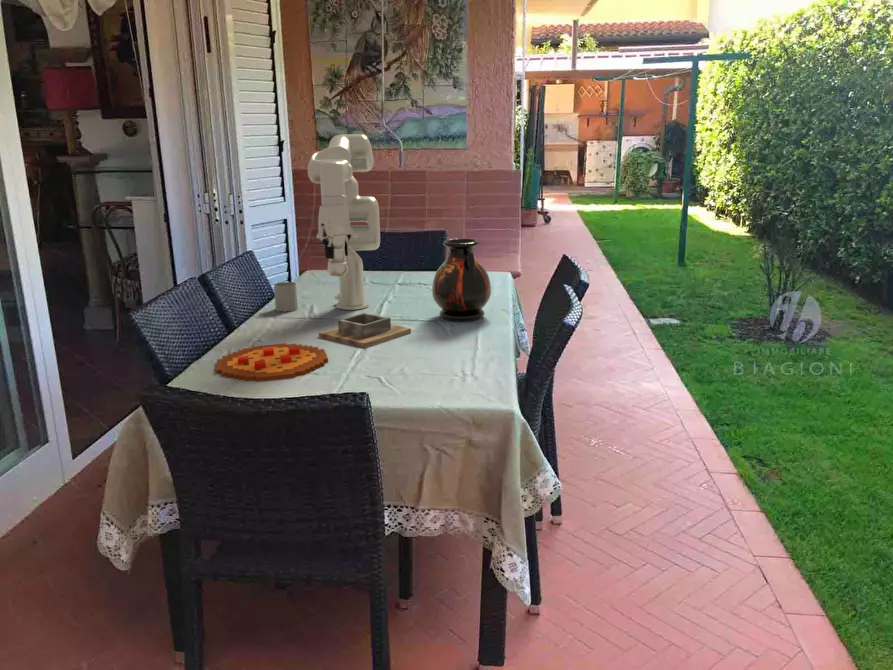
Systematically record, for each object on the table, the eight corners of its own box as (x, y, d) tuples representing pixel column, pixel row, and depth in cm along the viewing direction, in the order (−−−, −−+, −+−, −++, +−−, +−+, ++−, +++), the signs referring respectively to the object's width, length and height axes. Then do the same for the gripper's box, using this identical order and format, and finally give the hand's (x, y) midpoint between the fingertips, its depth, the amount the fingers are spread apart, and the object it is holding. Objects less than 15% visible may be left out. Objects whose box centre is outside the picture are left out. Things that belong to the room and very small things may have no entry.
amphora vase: (423, 313, 273) (421, 239, 265) (475, 307, 281) (475, 235, 273) (446, 327, 254) (445, 247, 246) (501, 320, 262) (501, 242, 254)
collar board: (318, 336, 245) (317, 321, 244) (365, 323, 261) (364, 308, 260) (364, 347, 232) (364, 331, 230) (410, 332, 248) (410, 317, 247)
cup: (301, 307, 286) (299, 282, 283) (290, 312, 279) (288, 287, 276) (283, 306, 289) (281, 281, 286) (271, 311, 281) (269, 285, 278)
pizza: (333, 374, 208) (332, 364, 208) (216, 387, 200) (215, 376, 199) (319, 344, 238) (319, 335, 237) (217, 354, 230) (216, 345, 229)
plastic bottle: (351, 274, 241) (349, 214, 236) (340, 278, 236) (337, 216, 230) (335, 273, 244) (332, 213, 239) (323, 277, 238) (320, 215, 233)
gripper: (345, 197, 241) (348, 252, 247) (304, 202, 229) (308, 259, 234) (361, 199, 237) (364, 254, 242) (320, 204, 224) (324, 262, 229)
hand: (336, 256), depth 238 cm, fingers closed on plastic bottle, 5 cm apart
